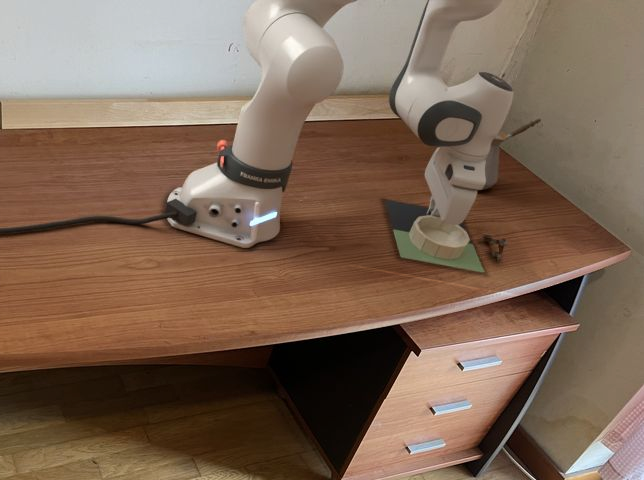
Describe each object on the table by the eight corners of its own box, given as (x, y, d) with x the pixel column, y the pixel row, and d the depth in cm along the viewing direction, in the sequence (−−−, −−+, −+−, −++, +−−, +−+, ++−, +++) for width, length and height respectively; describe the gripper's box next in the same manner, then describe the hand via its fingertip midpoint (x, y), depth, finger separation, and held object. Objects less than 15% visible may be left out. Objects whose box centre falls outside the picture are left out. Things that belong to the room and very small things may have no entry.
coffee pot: (468, 198, 163) (498, 137, 153) (433, 173, 170) (461, 113, 160) (529, 188, 172) (561, 130, 162) (494, 164, 179) (523, 107, 169)
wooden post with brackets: (496, 261, 142) (503, 239, 141) (477, 253, 150) (483, 232, 149) (505, 262, 143) (511, 240, 141) (485, 254, 150) (491, 233, 149)
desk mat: (399, 258, 139) (400, 257, 139) (383, 200, 155) (384, 199, 155) (483, 274, 140) (484, 272, 140) (459, 215, 156) (459, 213, 156)
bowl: (414, 253, 140) (420, 241, 138) (405, 223, 149) (410, 211, 147) (468, 263, 141) (475, 251, 139) (455, 233, 149) (462, 220, 147)
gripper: (433, 132, 147) (408, 191, 157) (455, 181, 132) (426, 243, 141) (462, 138, 148) (435, 196, 157) (488, 187, 133) (456, 248, 142)
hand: (431, 218), depth 149 cm, fingers closed
